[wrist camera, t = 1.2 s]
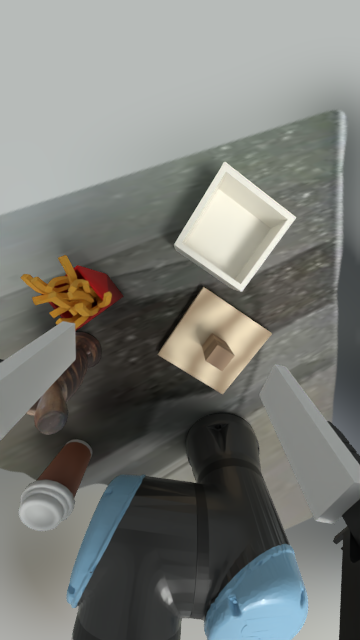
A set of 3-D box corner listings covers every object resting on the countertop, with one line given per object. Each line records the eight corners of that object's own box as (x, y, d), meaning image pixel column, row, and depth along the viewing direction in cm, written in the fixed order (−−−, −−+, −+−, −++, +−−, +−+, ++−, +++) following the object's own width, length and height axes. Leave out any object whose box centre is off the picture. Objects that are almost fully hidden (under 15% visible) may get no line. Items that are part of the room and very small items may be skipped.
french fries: (103, 318, 36) (47, 348, 21) (73, 281, 34) (-8, 286, 20) (140, 291, 35) (108, 303, 20) (110, 251, 33) (53, 233, 18)
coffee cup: (104, 461, 44) (76, 529, 32) (69, 471, 44) (28, 541, 33) (87, 429, 42) (50, 490, 30) (50, 440, 42) (0, 502, 31)
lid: (267, 330, 36) (290, 345, 29) (220, 388, 39) (229, 416, 32) (202, 286, 35) (208, 289, 27) (159, 350, 38) (152, 370, 30)
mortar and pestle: (106, 315, 36) (14, 364, 16) (127, 354, 37) (67, 441, 18) (54, 339, 37) (-90, 410, 17) (77, 376, 39) (-30, 478, 19)
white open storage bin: (275, 228, 32) (296, 217, 26) (231, 288, 34) (241, 291, 28) (216, 183, 30) (224, 161, 25) (175, 250, 33) (173, 244, 27)
